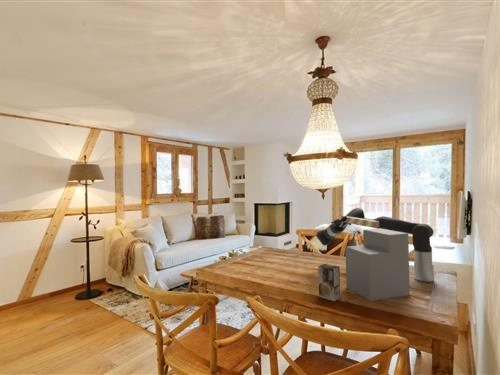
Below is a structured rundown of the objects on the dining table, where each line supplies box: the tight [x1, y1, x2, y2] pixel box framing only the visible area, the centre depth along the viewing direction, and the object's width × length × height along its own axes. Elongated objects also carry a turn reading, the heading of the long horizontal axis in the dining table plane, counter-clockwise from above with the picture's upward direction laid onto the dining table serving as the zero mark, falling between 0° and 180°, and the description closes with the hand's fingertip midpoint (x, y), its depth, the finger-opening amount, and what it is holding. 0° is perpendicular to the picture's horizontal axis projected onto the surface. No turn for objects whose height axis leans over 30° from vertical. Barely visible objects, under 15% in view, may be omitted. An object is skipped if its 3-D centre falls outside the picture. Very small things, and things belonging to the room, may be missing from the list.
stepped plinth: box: [345, 228, 411, 302], centre depth 151 cm, size 20×24×32 cm
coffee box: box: [317, 263, 341, 302], centre depth 143 cm, size 9×6×16 cm
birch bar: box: [340, 215, 379, 229], centre depth 155 cm, size 28×3×3 cm, turn 16°
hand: (349, 217), depth 163 cm, fingers closed on birch bar, 3 cm apart
